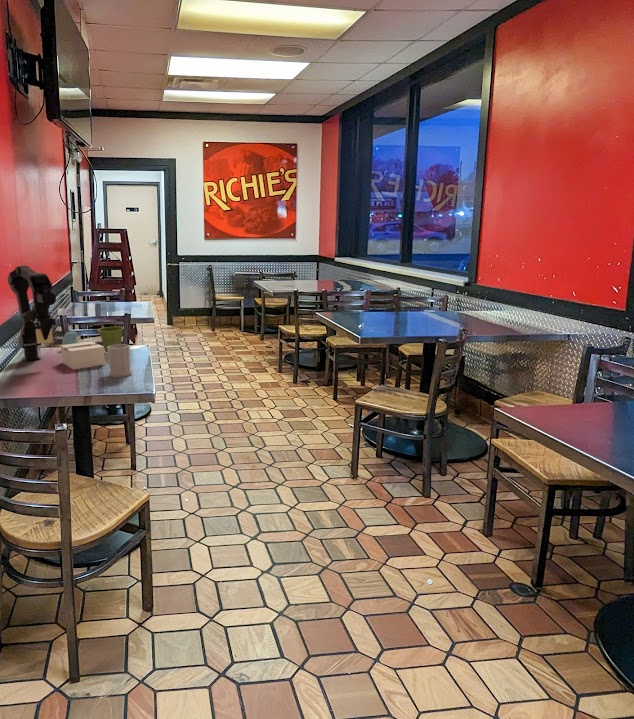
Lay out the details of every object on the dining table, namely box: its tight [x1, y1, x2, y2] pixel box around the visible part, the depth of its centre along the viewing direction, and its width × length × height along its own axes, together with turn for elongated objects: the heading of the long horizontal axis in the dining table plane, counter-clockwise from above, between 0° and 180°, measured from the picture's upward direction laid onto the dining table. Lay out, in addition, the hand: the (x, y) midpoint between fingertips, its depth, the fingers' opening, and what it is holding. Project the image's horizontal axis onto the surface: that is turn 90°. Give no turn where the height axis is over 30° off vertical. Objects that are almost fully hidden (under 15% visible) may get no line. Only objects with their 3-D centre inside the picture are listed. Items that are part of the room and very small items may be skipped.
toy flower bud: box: [62, 331, 81, 345], centre depth 314 cm, size 7×9×12 cm
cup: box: [104, 343, 133, 378], centre depth 261 cm, size 10×9×12 cm
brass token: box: [36, 327, 54, 344], centre depth 276 cm, size 2×6×6 cm, turn 126°
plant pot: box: [97, 326, 124, 353], centre depth 306 cm, size 12×12×11 cm
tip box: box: [59, 341, 106, 370], centre depth 282 cm, size 16×14×8 cm
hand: (44, 339), depth 276 cm, fingers closed on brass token, 2 cm apart
